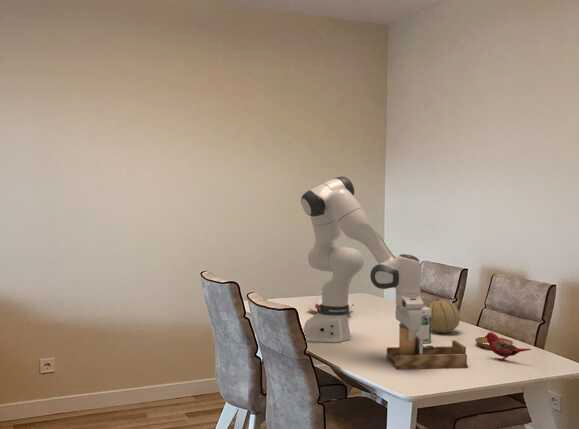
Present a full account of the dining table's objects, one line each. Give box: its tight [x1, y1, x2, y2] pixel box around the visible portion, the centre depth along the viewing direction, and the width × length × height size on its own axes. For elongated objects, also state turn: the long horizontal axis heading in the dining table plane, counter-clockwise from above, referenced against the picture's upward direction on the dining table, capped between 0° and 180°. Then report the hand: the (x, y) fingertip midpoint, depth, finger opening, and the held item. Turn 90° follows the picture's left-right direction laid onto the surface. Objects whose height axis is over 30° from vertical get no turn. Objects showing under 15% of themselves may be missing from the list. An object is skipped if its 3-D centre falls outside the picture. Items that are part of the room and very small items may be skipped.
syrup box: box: [416, 305, 432, 344], centre depth 263 cm, size 6×6×14 cm
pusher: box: [416, 334, 434, 355], centre depth 230 cm, size 6×9×9 cm
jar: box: [398, 322, 416, 355], centre depth 229 cm, size 6×6×11 cm
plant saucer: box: [474, 336, 514, 350], centre depth 256 cm, size 15×15×3 cm
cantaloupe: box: [428, 298, 461, 334], centre depth 281 cm, size 15×15×15 cm
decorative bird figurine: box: [484, 331, 532, 362], centre depth 234 cm, size 3×18×10 cm, turn 50°
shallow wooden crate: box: [385, 340, 469, 371], centre depth 230 cm, size 26×14×7 cm, turn 97°
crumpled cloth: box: [307, 294, 355, 313], centre depth 320 cm, size 24×35×9 cm
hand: (407, 337), depth 229 cm, fingers closed on jar, 6 cm apart
